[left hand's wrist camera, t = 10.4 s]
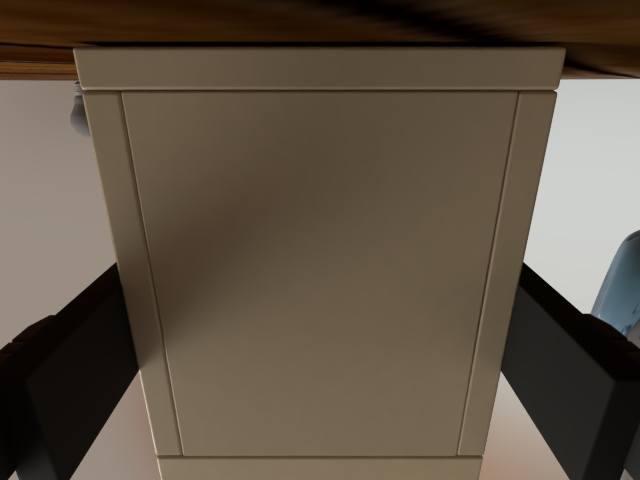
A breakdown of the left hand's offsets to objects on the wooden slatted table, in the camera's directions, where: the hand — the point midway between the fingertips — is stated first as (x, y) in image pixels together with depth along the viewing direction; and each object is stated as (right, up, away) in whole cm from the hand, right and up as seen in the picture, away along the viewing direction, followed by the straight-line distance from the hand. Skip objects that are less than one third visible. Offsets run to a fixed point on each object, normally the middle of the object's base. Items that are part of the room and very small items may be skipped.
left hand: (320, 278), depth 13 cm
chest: (0, +8, +3) cm, 9 cm away
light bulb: (-44, +30, +59) cm, 80 cm away
